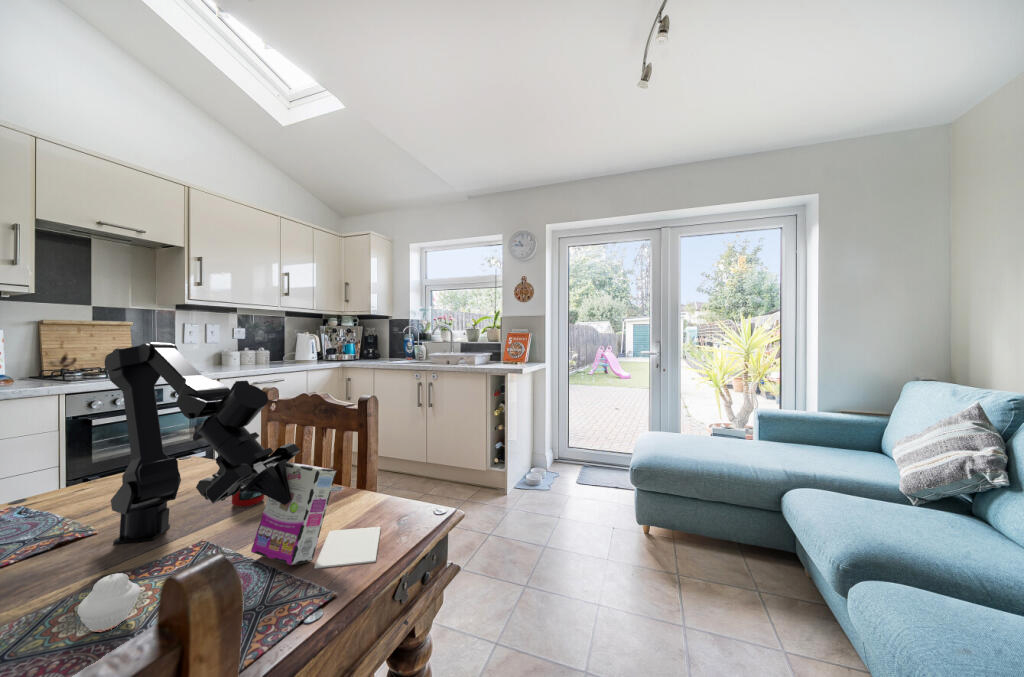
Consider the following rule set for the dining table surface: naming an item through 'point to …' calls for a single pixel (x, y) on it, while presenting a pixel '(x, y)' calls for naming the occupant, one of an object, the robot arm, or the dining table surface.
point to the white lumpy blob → (108, 602)
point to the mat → (349, 547)
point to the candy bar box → (295, 516)
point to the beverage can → (246, 498)
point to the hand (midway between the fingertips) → (288, 502)
